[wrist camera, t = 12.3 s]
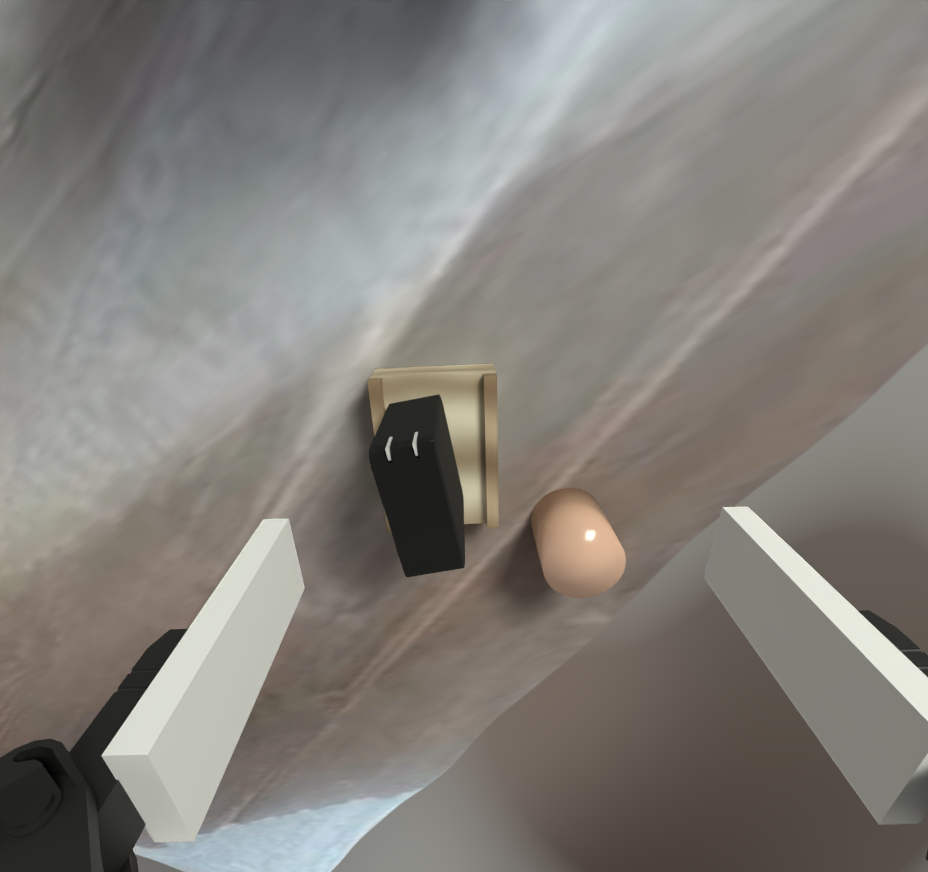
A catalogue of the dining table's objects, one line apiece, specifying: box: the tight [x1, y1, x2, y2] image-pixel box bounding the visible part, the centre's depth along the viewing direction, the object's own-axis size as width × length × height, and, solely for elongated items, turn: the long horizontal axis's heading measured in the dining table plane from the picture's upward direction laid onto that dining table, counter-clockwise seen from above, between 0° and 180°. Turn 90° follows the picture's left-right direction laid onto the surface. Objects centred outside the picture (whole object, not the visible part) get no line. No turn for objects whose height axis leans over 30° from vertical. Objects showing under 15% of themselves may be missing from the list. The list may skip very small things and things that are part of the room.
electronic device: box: [369, 394, 465, 577], centre depth 33 cm, size 4×10×10 cm, turn 11°
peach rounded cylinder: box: [531, 488, 626, 598], centre depth 40 cm, size 7×7×7 cm
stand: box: [367, 364, 499, 532], centre depth 38 cm, size 14×10×4 cm
